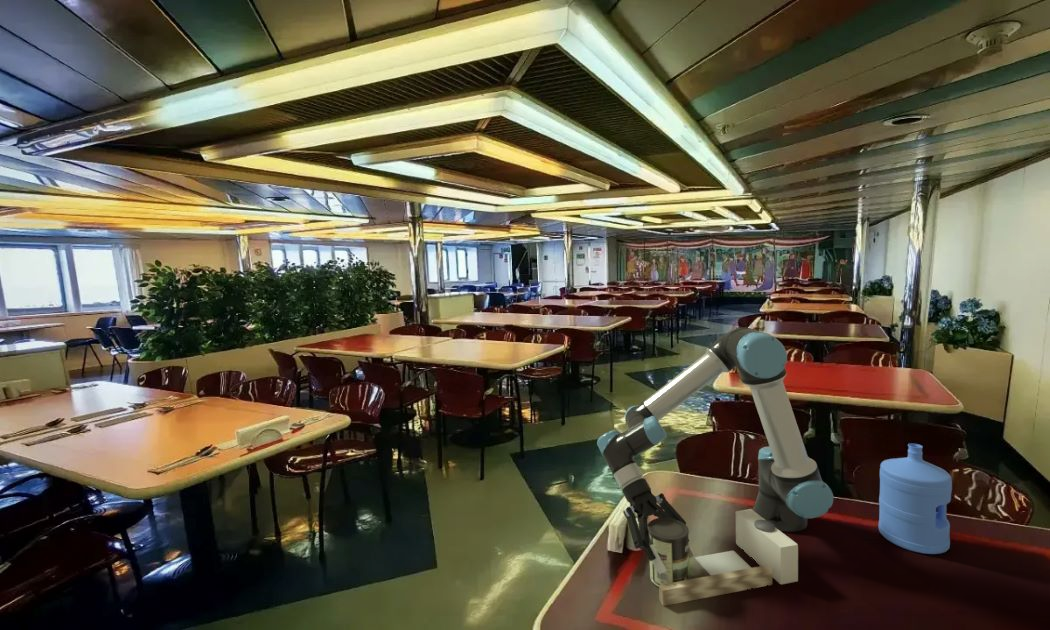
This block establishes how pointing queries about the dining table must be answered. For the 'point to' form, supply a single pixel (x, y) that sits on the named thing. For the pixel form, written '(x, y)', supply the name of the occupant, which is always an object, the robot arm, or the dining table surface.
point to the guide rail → (715, 585)
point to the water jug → (914, 503)
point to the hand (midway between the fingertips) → (678, 564)
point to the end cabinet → (757, 549)
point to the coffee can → (669, 550)
